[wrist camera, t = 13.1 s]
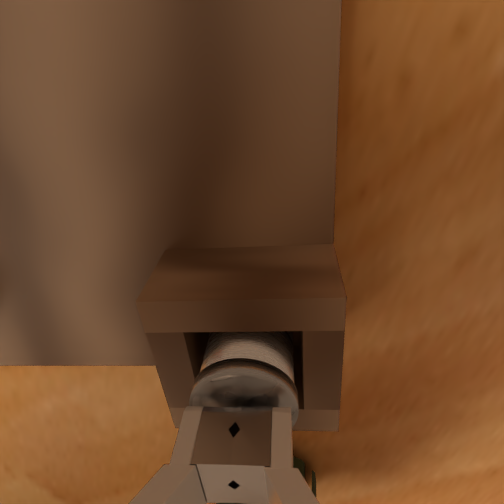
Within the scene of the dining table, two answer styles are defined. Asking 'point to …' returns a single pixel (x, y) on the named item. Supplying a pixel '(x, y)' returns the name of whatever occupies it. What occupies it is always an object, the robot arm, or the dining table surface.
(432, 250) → the dining table surface
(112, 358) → the wooden desk organizer
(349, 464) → the dining table surface
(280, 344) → the leg peg
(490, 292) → the dining table surface
